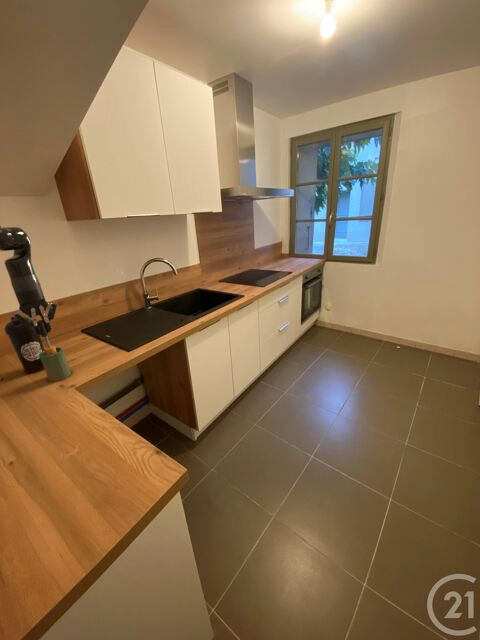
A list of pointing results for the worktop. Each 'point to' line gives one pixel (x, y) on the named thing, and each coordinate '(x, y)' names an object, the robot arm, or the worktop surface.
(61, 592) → the worktop surface
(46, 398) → the worktop surface
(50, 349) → the brush
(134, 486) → the worktop surface
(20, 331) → the water bottle
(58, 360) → the cup
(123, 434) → the worktop surface
